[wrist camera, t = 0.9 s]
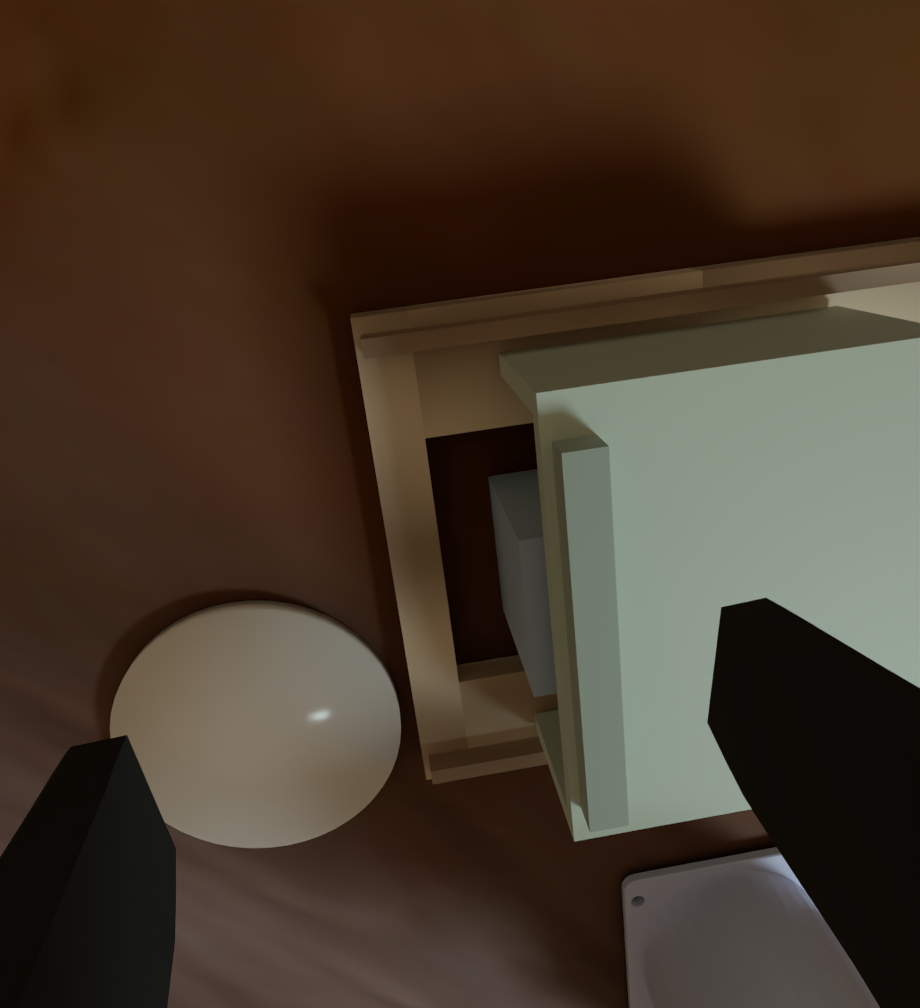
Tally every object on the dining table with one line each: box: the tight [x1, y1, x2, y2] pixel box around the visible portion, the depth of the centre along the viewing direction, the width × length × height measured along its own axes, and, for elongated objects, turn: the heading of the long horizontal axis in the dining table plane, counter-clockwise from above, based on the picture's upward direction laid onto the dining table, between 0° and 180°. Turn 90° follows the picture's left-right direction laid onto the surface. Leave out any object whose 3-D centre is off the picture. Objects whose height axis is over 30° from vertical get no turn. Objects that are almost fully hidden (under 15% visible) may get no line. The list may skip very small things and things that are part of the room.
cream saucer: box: [110, 600, 401, 848], centre depth 26 cm, size 9×9×1 cm
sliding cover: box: [498, 306, 920, 842], centre depth 21 cm, size 12×10×6 cm
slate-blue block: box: [488, 469, 557, 697], centre depth 23 cm, size 4×4×5 cm
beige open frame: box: [350, 237, 920, 784], centre depth 24 cm, size 15×21×2 cm
